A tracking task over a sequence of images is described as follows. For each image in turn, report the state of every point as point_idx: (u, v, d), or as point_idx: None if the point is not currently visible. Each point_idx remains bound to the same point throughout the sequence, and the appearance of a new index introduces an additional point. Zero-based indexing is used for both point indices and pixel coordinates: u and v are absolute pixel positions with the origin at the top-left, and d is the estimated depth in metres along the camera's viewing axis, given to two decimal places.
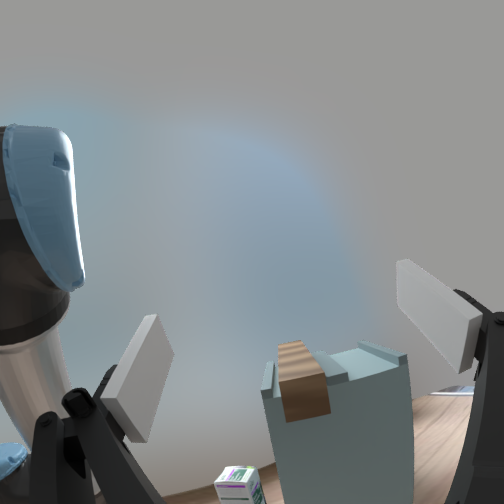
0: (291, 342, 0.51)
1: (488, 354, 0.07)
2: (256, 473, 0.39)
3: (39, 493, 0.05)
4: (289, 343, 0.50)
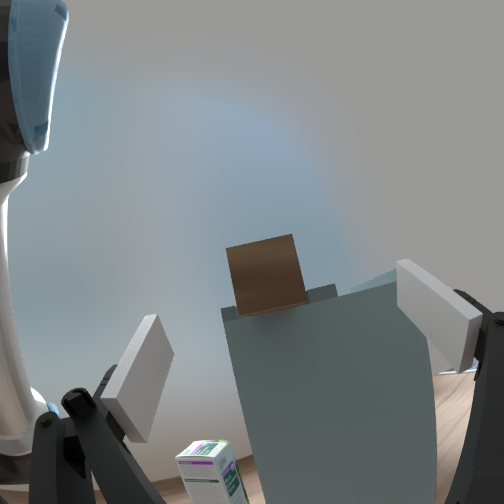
0: None
1: (488, 354, 0.07)
2: (230, 449, 0.32)
3: (39, 493, 0.05)
4: None
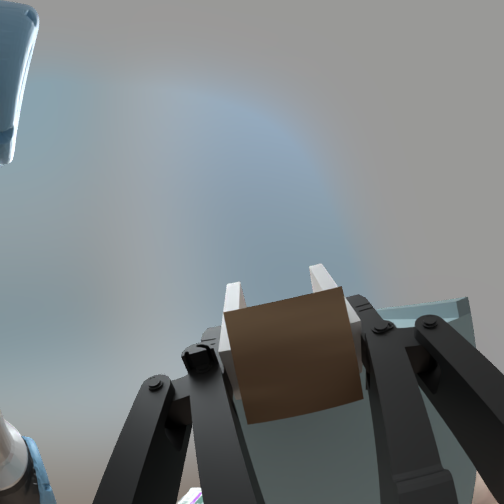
0: None
1: (373, 367, 0.08)
2: None
3: (121, 463, 0.06)
4: None
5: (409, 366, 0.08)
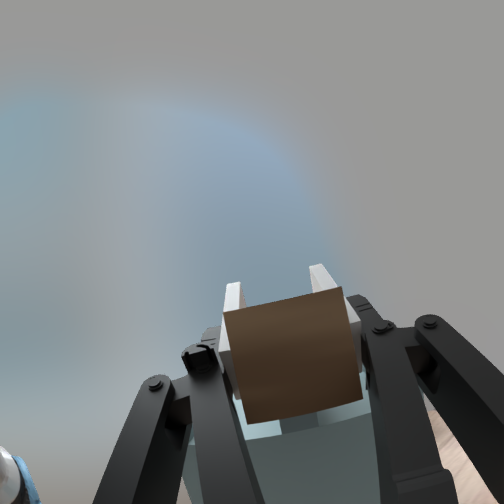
0: None
1: (374, 367, 0.08)
2: None
3: (121, 463, 0.06)
4: None
5: (409, 366, 0.08)
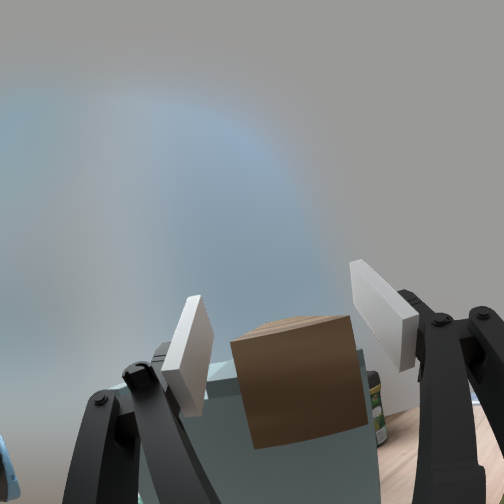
0: None
1: (429, 357, 0.08)
2: None
3: (79, 475, 0.06)
4: None
5: (462, 360, 0.07)
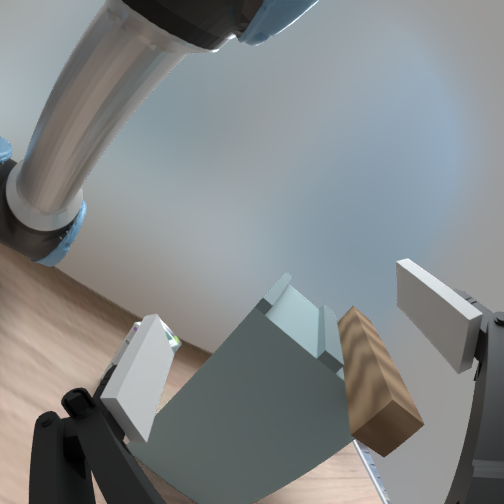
0: (364, 316, 0.44)
1: (488, 354, 0.07)
2: (175, 349, 0.42)
3: (39, 493, 0.05)
4: (363, 316, 0.43)
5: None
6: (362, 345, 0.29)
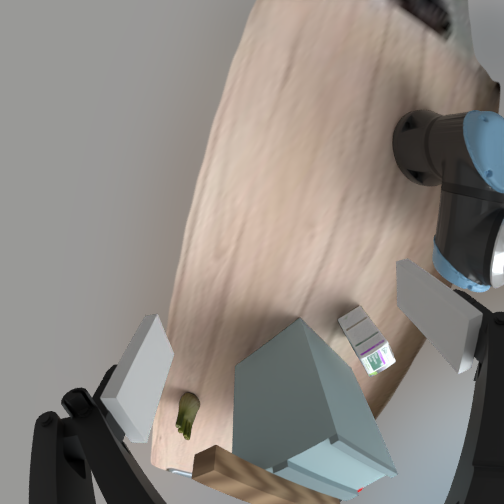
0: None
1: (488, 354, 0.07)
2: (366, 371, 0.48)
3: (39, 493, 0.05)
4: None
5: None
6: (284, 494, 0.30)
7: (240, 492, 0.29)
